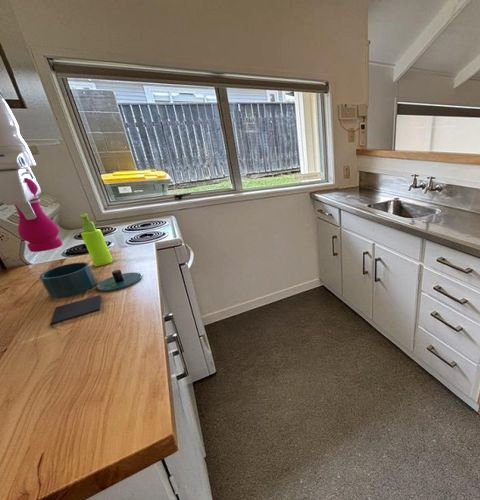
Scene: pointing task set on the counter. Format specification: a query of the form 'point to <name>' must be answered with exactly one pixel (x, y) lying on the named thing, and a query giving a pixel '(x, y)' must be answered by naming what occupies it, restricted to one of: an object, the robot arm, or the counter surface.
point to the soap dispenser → (95, 242)
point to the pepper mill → (38, 226)
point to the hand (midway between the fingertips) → (34, 216)
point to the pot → (68, 280)
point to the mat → (76, 309)
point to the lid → (119, 281)
